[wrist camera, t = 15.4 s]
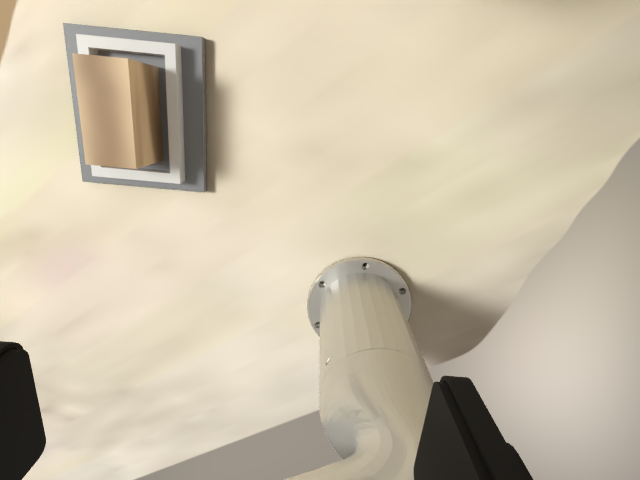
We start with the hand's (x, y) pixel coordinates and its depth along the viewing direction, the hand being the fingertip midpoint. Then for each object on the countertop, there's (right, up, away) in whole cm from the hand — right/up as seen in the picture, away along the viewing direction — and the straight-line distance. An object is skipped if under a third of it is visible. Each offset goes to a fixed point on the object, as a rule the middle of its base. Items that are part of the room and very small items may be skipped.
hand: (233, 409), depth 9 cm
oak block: (-16, +17, +28) cm, 37 cm away
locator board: (-16, +17, +29) cm, 38 cm away
